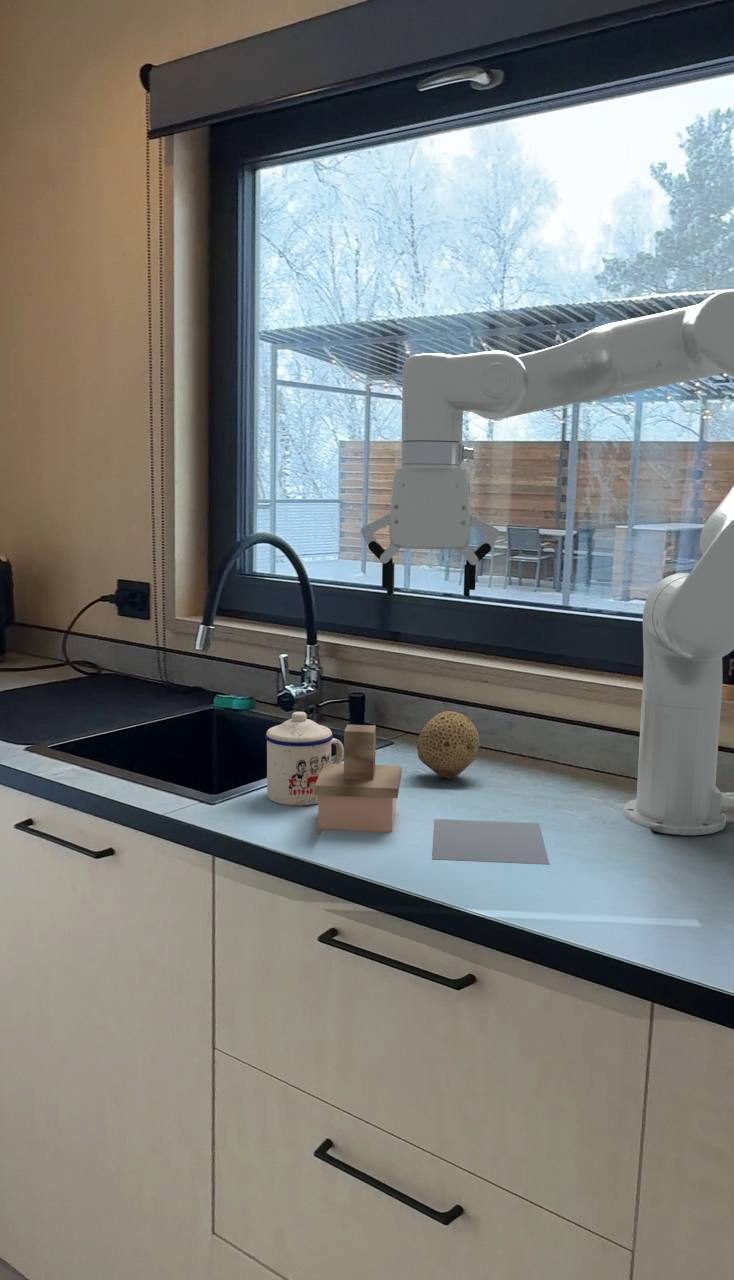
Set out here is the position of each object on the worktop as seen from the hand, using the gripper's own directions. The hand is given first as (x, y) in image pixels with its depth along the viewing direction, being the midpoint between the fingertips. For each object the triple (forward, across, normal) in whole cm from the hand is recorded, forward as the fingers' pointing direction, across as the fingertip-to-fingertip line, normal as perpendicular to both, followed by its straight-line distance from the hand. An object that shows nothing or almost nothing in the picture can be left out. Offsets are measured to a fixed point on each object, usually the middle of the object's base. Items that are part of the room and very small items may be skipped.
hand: (428, 595), depth 129 cm
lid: (+23, +8, +6) cm, 25 cm away
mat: (+28, -8, +12) cm, 32 cm away
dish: (+28, +8, +6) cm, 30 cm away
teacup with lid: (+28, +16, -5) cm, 33 cm away
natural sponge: (+28, -3, -15) cm, 32 cm away
